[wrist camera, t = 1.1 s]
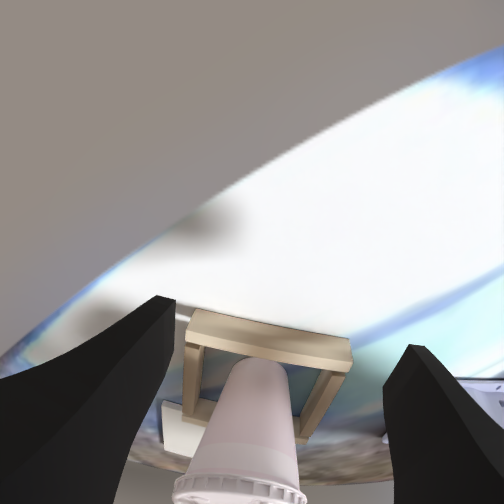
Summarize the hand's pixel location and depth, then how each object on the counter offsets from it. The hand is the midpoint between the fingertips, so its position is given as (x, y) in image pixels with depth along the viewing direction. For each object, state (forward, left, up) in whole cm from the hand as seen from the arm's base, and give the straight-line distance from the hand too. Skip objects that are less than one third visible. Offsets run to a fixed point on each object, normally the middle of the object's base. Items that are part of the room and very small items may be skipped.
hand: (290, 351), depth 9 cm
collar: (0, +9, -7) cm, 12 cm away
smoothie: (0, +9, -7) cm, 12 cm away
